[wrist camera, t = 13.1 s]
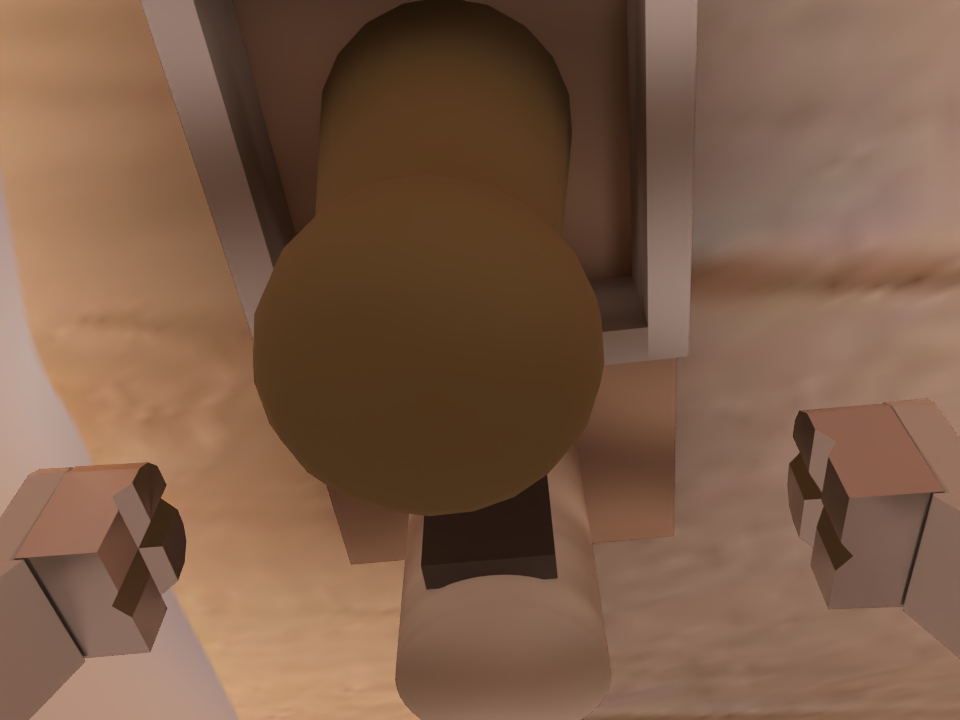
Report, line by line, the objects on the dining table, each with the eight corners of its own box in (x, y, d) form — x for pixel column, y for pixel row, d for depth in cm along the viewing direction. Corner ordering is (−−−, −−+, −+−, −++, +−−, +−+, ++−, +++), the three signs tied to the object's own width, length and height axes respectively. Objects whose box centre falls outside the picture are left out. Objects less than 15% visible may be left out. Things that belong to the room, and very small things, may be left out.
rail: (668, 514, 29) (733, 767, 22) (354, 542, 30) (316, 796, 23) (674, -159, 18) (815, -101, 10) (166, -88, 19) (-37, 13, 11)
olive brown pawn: (562, 245, 22) (623, 577, 13) (330, 242, 22) (232, 575, 13) (582, -1, 19) (684, 223, 10) (306, -5, 19) (150, 217, 10)
